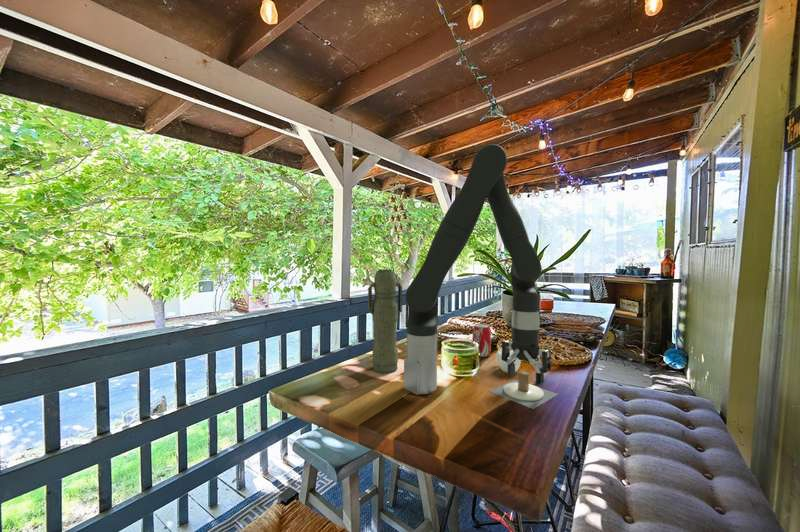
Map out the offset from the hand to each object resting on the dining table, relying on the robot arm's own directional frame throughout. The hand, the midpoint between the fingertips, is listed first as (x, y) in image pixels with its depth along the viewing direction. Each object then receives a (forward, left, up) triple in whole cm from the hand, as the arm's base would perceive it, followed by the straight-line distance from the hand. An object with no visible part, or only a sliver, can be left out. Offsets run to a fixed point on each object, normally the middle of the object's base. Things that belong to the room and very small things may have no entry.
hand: (525, 380), depth 98 cm
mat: (0, 0, -4) cm, 4 cm away
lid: (0, 0, -4) cm, 4 cm away
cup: (+13, +14, -5) cm, 20 cm away
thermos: (-19, +42, -5) cm, 47 cm away
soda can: (+20, +30, -5) cm, 37 cm away
